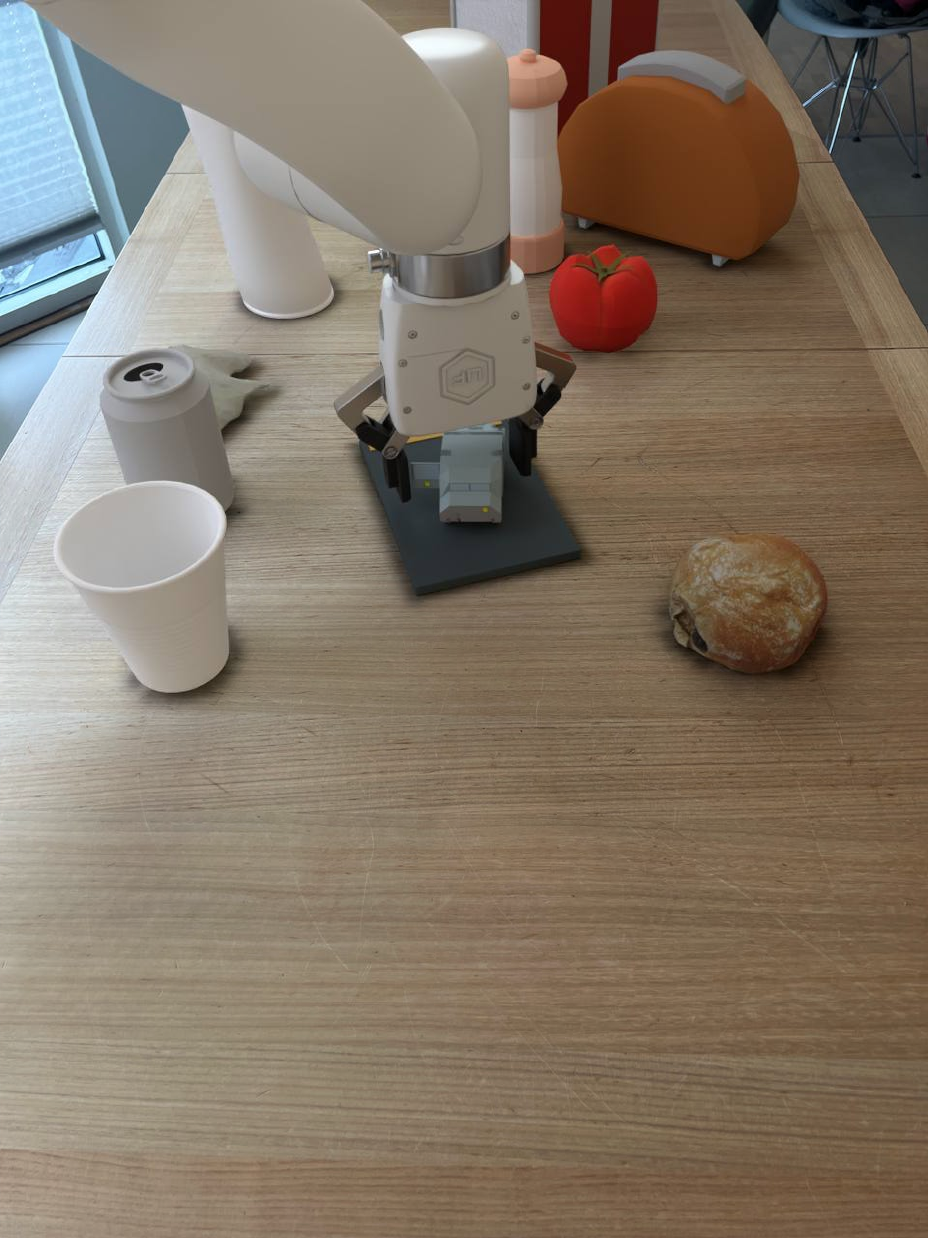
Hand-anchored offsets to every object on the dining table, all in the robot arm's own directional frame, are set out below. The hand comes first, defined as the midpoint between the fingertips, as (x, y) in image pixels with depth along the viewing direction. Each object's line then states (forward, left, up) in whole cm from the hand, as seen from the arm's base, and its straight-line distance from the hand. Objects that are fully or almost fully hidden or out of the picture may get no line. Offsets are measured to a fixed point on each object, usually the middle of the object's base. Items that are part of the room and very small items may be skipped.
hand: (461, 477), depth 79 cm
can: (-20, +6, -2) cm, 21 cm away
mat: (0, 0, -2) cm, 2 cm away
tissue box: (+29, +61, -2) cm, 68 cm away
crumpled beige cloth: (-18, +19, -2) cm, 26 cm away
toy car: (0, 0, -1) cm, 1 cm away
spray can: (-8, +37, -2) cm, 38 cm away
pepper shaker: (+17, +35, -2) cm, 39 cm away
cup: (-22, -10, -2) cm, 24 cm away
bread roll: (+14, -18, -2) cm, 23 cm away
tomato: (+18, +18, -2) cm, 26 cm away
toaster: (+32, +35, -2) cm, 48 cm away
